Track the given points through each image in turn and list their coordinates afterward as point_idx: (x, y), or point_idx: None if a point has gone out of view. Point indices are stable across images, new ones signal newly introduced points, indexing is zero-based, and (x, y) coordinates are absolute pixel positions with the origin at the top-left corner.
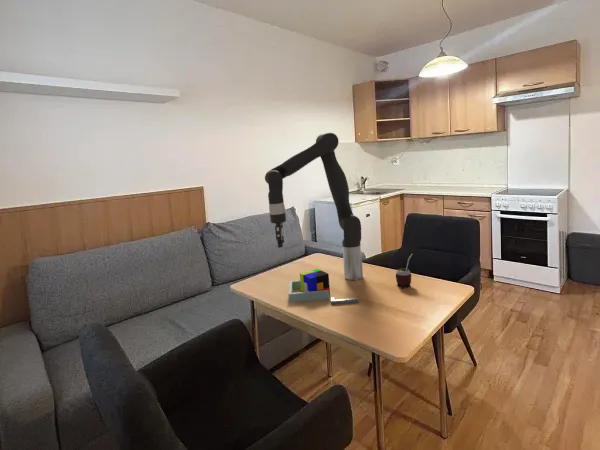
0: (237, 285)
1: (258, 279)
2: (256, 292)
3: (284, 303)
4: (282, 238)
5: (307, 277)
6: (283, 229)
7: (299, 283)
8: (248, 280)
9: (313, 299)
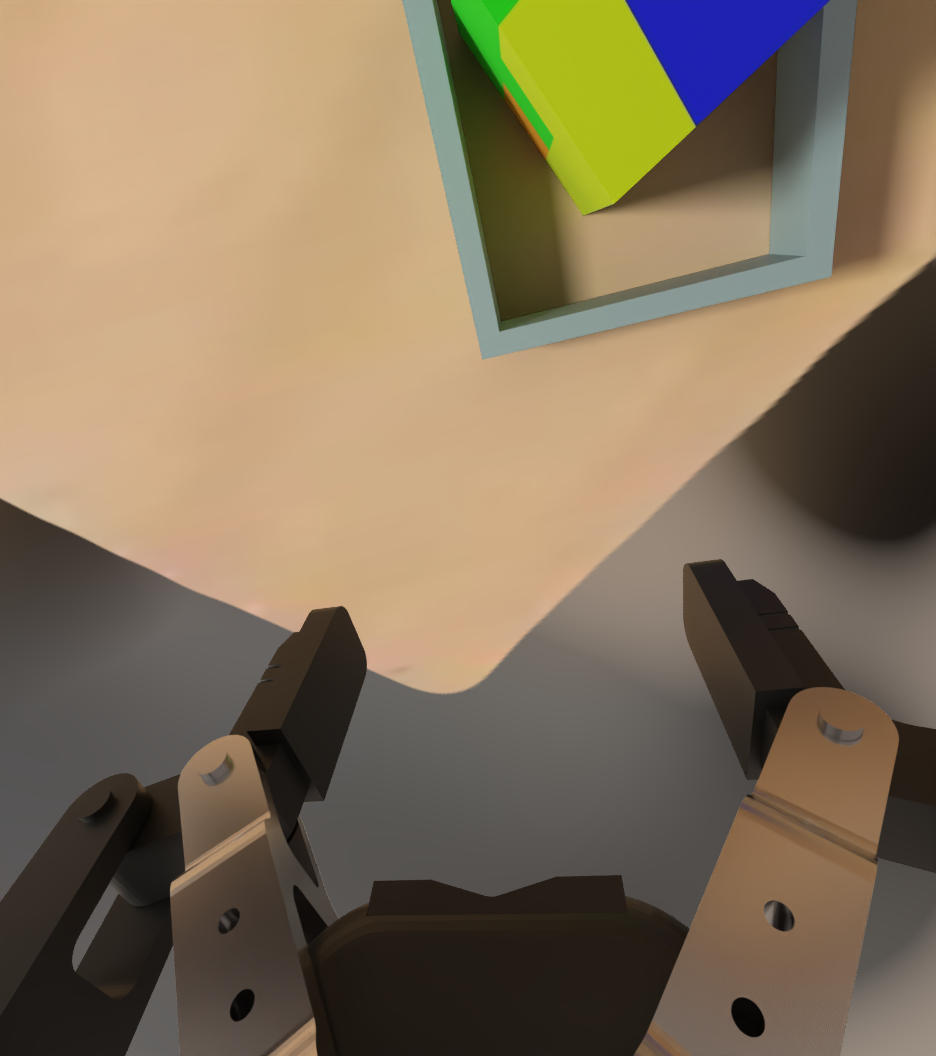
0: (436, 688)
1: None
2: (550, 566)
3: (799, 313)
4: (315, 688)
5: (823, 6)
6: (248, 951)
7: (486, 259)
8: None
9: None
